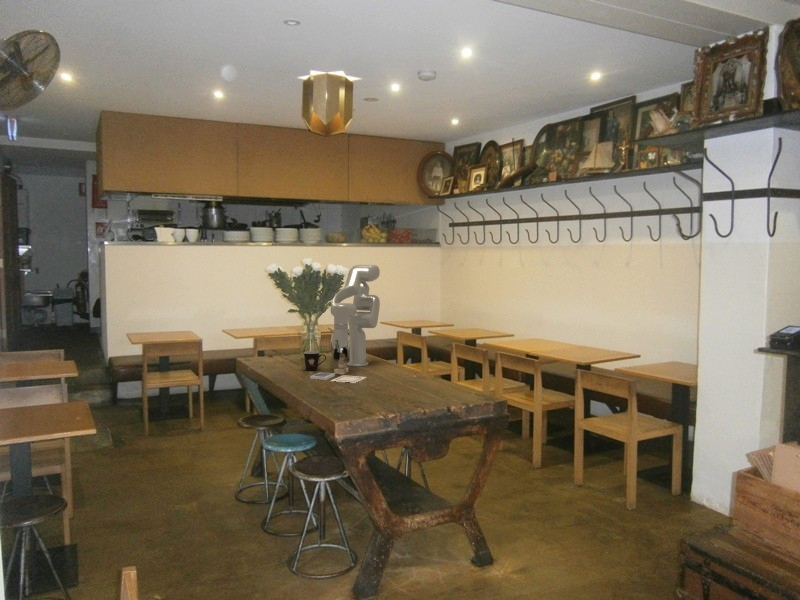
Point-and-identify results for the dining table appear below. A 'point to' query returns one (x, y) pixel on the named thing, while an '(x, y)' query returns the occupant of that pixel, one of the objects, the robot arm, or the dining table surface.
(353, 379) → the paper sheet
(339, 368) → the stamp
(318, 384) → the dining table surface
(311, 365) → the coffee mug
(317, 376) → the ink pad
